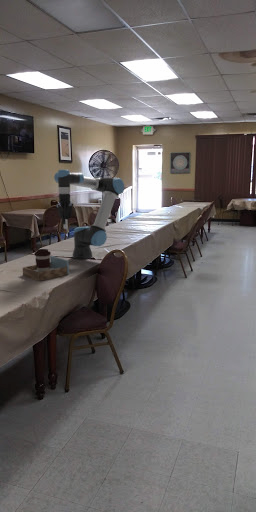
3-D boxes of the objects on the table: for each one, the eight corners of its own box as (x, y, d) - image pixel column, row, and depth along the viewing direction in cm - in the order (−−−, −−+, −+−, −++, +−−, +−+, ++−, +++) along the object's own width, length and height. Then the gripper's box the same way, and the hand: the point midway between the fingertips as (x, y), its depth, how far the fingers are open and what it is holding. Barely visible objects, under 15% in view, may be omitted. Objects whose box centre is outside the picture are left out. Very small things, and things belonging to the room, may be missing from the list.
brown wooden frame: (50, 269, 264) (49, 262, 263) (66, 274, 250) (66, 267, 249) (22, 275, 250) (22, 267, 249) (39, 281, 237) (38, 273, 235)
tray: (52, 268, 265) (51, 255, 263) (69, 274, 252) (68, 260, 250) (24, 274, 251) (24, 260, 249) (41, 280, 237) (40, 266, 235)
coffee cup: (52, 274, 246) (51, 251, 242) (36, 275, 243) (34, 252, 240) (50, 270, 255) (49, 247, 252) (34, 271, 252) (33, 248, 249)
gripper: (69, 192, 266) (70, 227, 271) (52, 193, 257) (54, 229, 262) (75, 193, 261) (76, 228, 266) (59, 194, 252) (60, 230, 257)
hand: (65, 228), depth 264 cm, fingers closed
